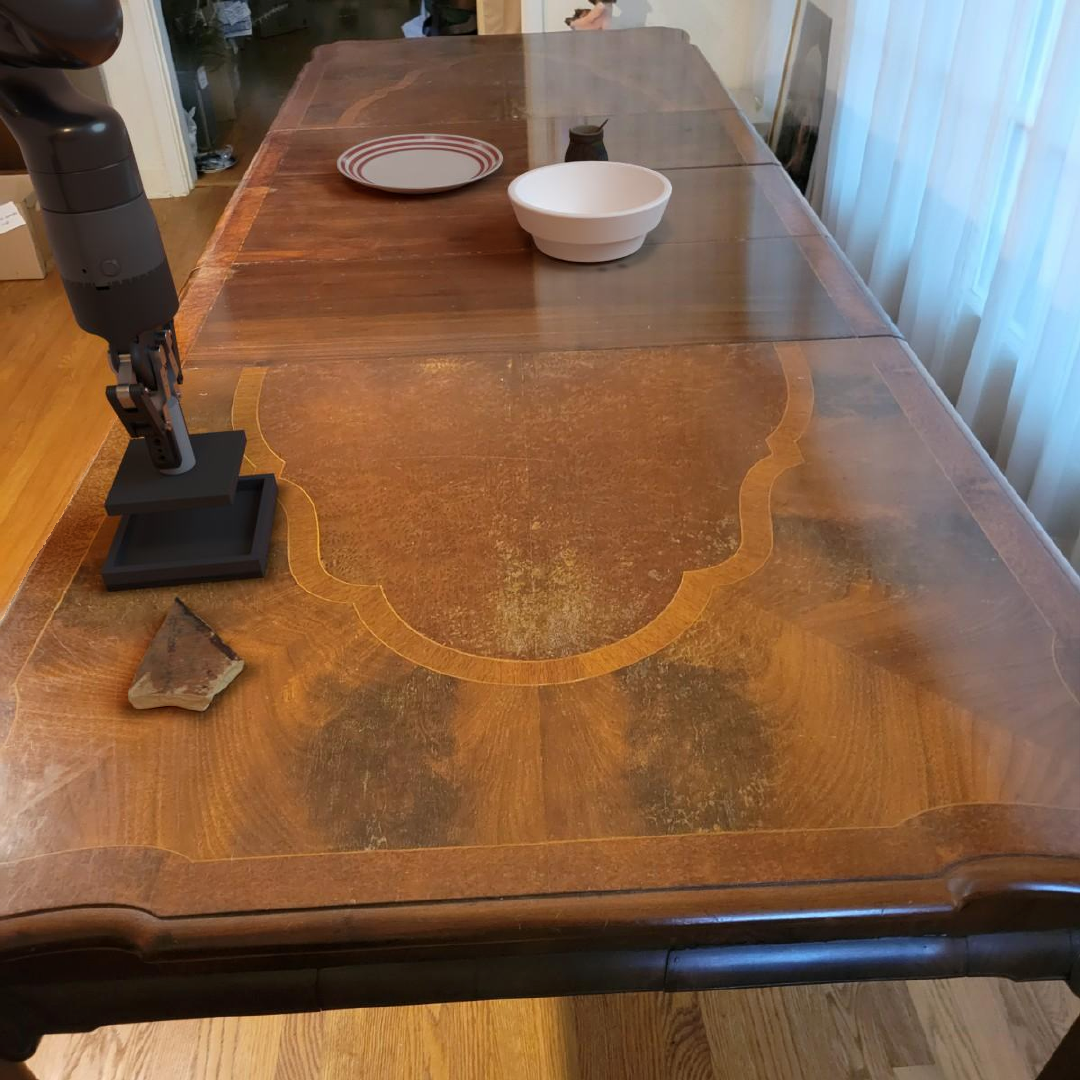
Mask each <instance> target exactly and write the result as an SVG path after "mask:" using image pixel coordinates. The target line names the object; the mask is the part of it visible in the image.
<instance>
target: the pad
mask: <svg viewBox="0 0 1080 1080" xmlns="http://www.w3.org/2000/svg"><path fill="white" fill-rule="evenodd" d="M178 403H179V402H178V400H177V399H176V398H175V397H174V396H171V397H170V399H169V400H168V402H167V407H168V411H169V415H170V419H171V421H172V427H173V430H174V433H175V436H176V440H177V443H178V446H179V449H180V453H181V456H182V463H181V466H180V467H179V468H176V469H164V470H159V469H156V468H155V467H154V465H153V462H152V459H151V456H150V453H149V450H148V447H147V444H146V441H145V438H144V437H139V438H130V439H129V441H128V443H127V446H126V448H125V451H124V454H123V456H122V458H121V461H120V464H119V466H118V469H117V472H116V474H115V476H114V479H113V482H112V484H111V486H110V488H109V491H108V494H107V496H106V499H105V501H104V503H103V506H104V509H105V512H106V515H107V517H119V516H122V515H130V514H142V513H153V512H164V511H175V510H187V509H198V508H209V507H221V506H232V505H233V500H234V496H235V491H236V487H237V483H238V478H239V476H240V473H241V468H242V465H243V461H244V455H245V451H246V446H247V442H248V439H247V434H246V430H245V429H236V430H223V431H210V432H201V433H200V432H199V433H189V435H190V437H188V434H187V430H186V427H185V424H184V420H183V417H182V414H181V410H180V407H179V404H178ZM155 408H156V409H157V407H156V406H155ZM157 411H158V410H157Z"/></svg>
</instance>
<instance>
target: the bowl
mask: <svg viewBox="0 0 1080 1080" xmlns="http://www.w3.org/2000/svg"><path fill="white" fill-rule="evenodd" d="M608 161H609V160H608ZM608 161H579V162H568V163H565V162H560V163H554V164H548V165H544V166H541V167H537V168H534V169H531V170H528V171H526V172H524V173H522V174H520V175H518V176H517V177H515V178H514V179H513V180H512V181H511V182H510V183H509V185H508V187H507V196H508V199H509V201H510V204H511V207H512V209H513V211H514V214H515V217H516V220H517V223H518V224H519V225H520V227H521V228H522V229H524V231H525V232H527V233H528V234H531V236H532V239H533V241H534V243H535V246H536V248H537V249H538V250H540V252H542V253H544V254H545V255H547V256H550V257H552V258H555V259H559V260H564V261H567V262H568V261H569V262H576V263H577V262H579V263H597V262H607V261H612V260H613V261H614V260H616V259H620V258H623V257H627V256H629V255H631V254H634V253H636V252H637V251H638V250H639V249H641V247H642V246H643V244H644V242H645V239H646V237H647V235H648V233H649V232H652V230H654V229H655V228H656V227H657V226H658V225H659V224H660V222H661V220H662V218H663V216H664V213H665V210H666V208H667V206H668V203H669V201H670V198H671V195H672V192H673V186H672V184H671V182H670V180H669V179H668V178H667V177H666V176H665V175H663V174H661V173H660V172H658V171H656V170H653V169H650V168H648V167H644V166H640V165H637V164H632V163H625V162H617V161H609V162H608Z"/></svg>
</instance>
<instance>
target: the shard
mask: <svg viewBox="0 0 1080 1080" xmlns="http://www.w3.org/2000/svg"><path fill="white" fill-rule="evenodd" d="M244 665H245V660H244V659H243V658H242V657H240V656H239V655H238V653H237V652H235V651H234V650H233V648H232V647H231V646H230V645H229V644H227V643H226V642H225V641H224V640H223V638H222V637H221V636H219V634H218V633H216V632H215V630H214V629H213V628H212V627H211V626H210V625H209V624H207V622H206V621H204V620H203V619H202V618H201V617H200V616H198V615H197V614H196V613H194V612H193V611H192V610H190V609H189V608H188V607H187V605H186V604H185V602H184V601H182V600H181V599H180V598H179V597H178V596H176V597H175V598H174V601H173V602H172V605H171V607H170V608H169V610H168V612H167V614H166V617H165V620H164V621H163V623H162V624H161V626H160V628H159V629H158V631H157V632H156V633H155V635H154V636H153V639H152V640H151V642H150V644H149V647H148V648H147V649H146V651H145V652H144V654H143V657H142V660H141V662H140V663H139V665H137V666H138V667H137V669H136V671H135V674H134V676H133V677H134V679H133V681H132V683H131V685H130V686H129V689H128V691H127V694H128V698H127V701H128V702H129V703H130V704H131V705H132V707H133V708H134V709H136V710H143V709H153V708H159V707H167V706H169V707H179V708H182V709H187V710H191V711H199V712H204V711H206V710H207V708H208V707H209V706H210V703H211V702H212V701H213V698H214V696H215V695H217V694H219V693H220V692H222V691H223V690H225V689H226V688H227V686H228V685H229V684H230V683H231V682H233V680H235V678H236V677H237V676H238V674H240V673H241V672H242V671H243V669H244Z"/></svg>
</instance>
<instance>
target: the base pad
mask: <svg viewBox="0 0 1080 1080" xmlns="http://www.w3.org/2000/svg"><path fill="white" fill-rule="evenodd" d="M278 493H279V487H278V483H277V479H276V475H275V473H274V472H270V473H269V472H268V473H257V474H248V475H247V474H246V475H239V478H238V483H237V487H236V491H235V496H234V500H233V505H232V506H221V507H209V508H198V509H187V510H175V511H164V512H153V513H142V514H130V515H121V517H120V520H119V522H118V525H117V528H116V531H115V533H114V536H113V539H112V541H111V544H110V547H109V549H108V553H107V555H106V556H105V557H106V558H105V560H104V563H103V566H102V568H101V572H100V576H101V578H102V582H103V583H104V586H105V588H106V591H107V592H119V591H127V590H138V589H148V588H149V589H151V588H160V587H161V588H163V587H173V586H182V585H191V584H203V583H214V582H215V583H216V582H225V581H236V580H246V579H248V580H249V579H257V578H264V576H265V571H266V565H267V559H268V553H269V547H270V541H271V535H272V529H273V525H274V524H273V523H274V518H275V511H276V507H277V506H276V505H277V499H278Z"/></svg>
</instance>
